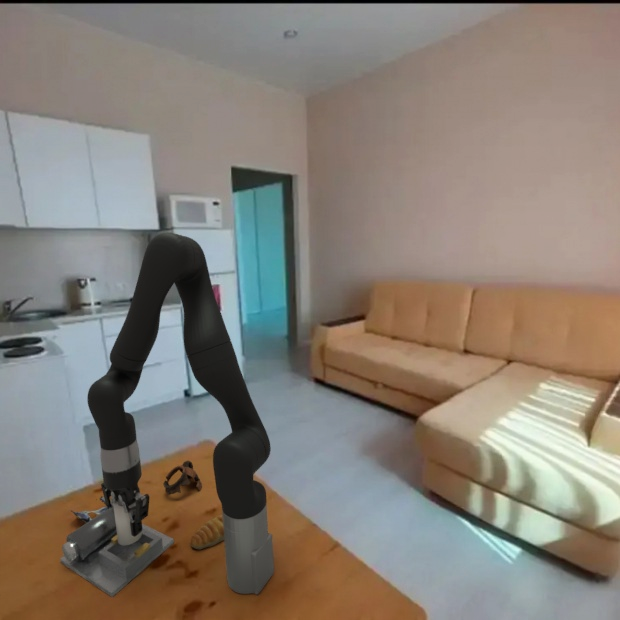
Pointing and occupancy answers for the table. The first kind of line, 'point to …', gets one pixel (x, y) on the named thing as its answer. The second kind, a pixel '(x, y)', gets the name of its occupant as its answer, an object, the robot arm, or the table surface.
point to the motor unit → (110, 553)
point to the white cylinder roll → (124, 525)
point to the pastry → (209, 534)
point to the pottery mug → (182, 478)
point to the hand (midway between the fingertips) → (129, 529)
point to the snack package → (86, 517)
